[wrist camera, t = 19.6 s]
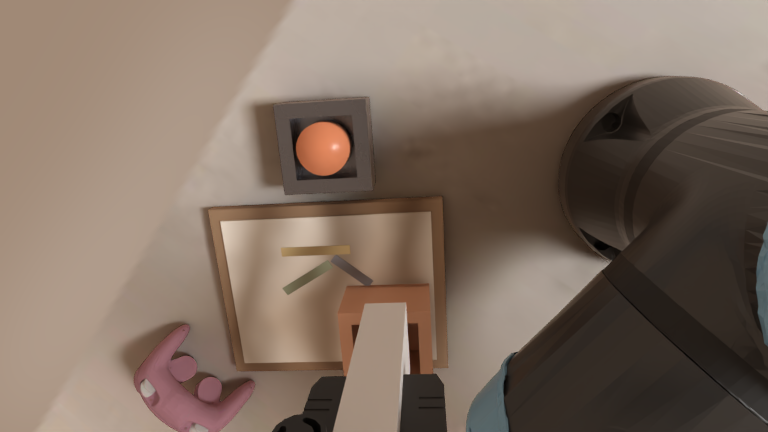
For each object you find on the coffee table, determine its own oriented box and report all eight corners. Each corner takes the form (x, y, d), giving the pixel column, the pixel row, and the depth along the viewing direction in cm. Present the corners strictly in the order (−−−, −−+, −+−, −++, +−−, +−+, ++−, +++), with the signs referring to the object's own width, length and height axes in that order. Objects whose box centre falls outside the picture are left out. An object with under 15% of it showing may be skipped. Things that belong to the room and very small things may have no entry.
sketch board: (442, 196, 40) (442, 200, 39) (447, 361, 45) (448, 369, 43) (212, 207, 42) (206, 211, 41) (240, 365, 46) (235, 372, 45)
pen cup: (429, 283, 41) (430, 311, 36) (432, 355, 43) (433, 391, 38) (346, 285, 42) (337, 313, 37) (353, 357, 44) (345, 392, 39)
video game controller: (170, 331, 48) (114, 389, 43) (185, 317, 45) (127, 376, 40) (243, 394, 49) (198, 457, 44) (263, 384, 46) (217, 450, 41)
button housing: (369, 96, 38) (365, 98, 35) (375, 182, 40) (372, 190, 37) (283, 102, 39) (273, 104, 36) (294, 186, 41) (284, 194, 38)
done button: (349, 118, 37) (345, 121, 35) (354, 169, 38) (350, 174, 36) (299, 121, 38) (293, 124, 36) (305, 171, 39) (299, 177, 37)
